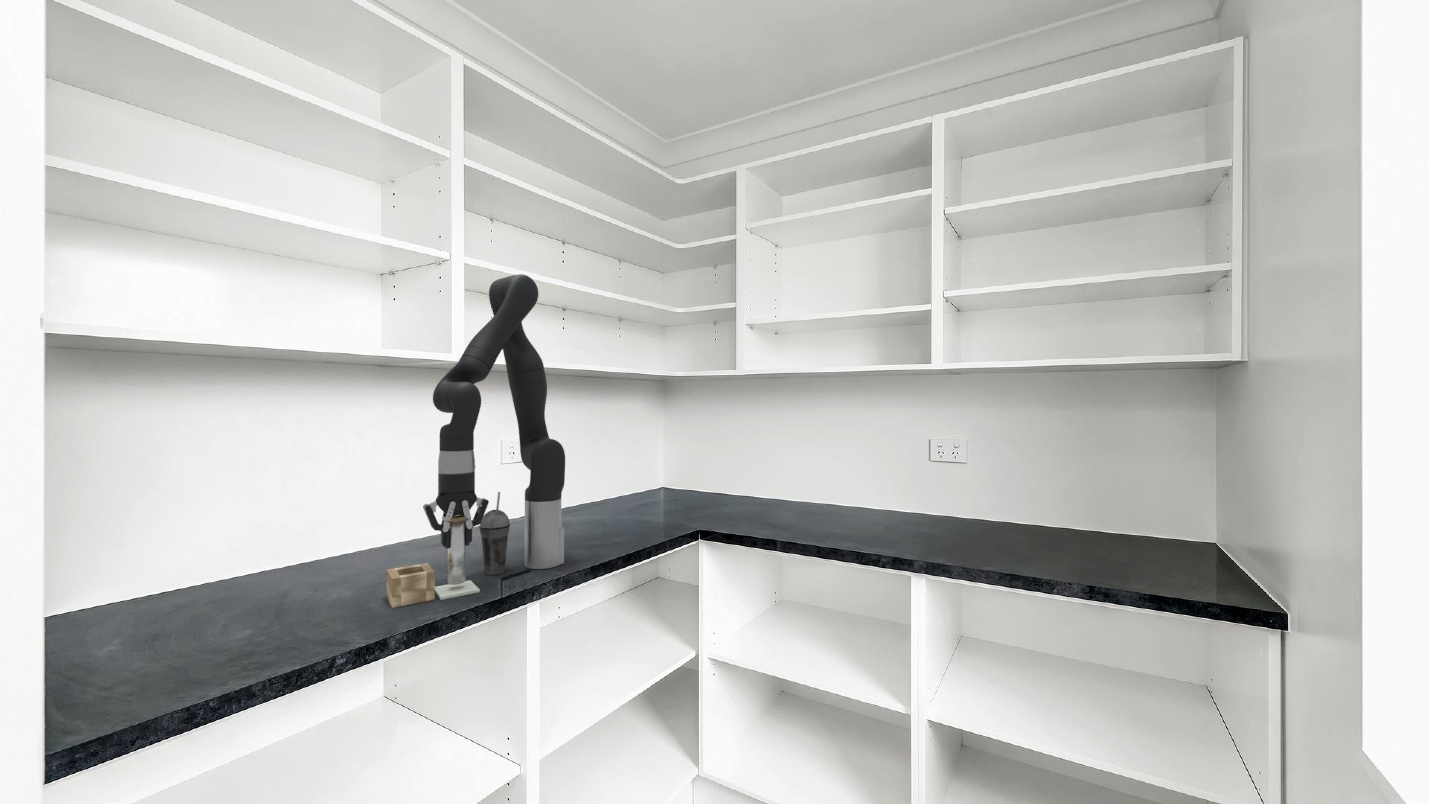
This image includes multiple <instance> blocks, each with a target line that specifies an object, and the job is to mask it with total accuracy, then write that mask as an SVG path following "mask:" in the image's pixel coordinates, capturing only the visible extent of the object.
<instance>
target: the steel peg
mask: <svg viewBox="0 0 1429 804" xmlns="http://www.w3.org/2000/svg"><path fill="white" fill-rule="evenodd" d="M467 520H468V519H467V516H464V515H456V516H452V518H450V521H449V522H448V523H450V525H449V530H448V531H449V532H450V547H449V548H447V584H449V585H458V584H462V583H464V582H465V581H466V546H465V521H467Z"/></svg>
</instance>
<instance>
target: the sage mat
mask: <svg viewBox="0 0 1429 804" xmlns="http://www.w3.org/2000/svg"><path fill="white" fill-rule="evenodd" d="M480 591H481V589H480V588H479V587H478V586H477V585H476V584H475V583H474V582H473V581H472V580H465V582H464V583H462V584H458V585H449V584H448V583H447V584H443V585H437V586H436V585H435V595H437V597H438V599H439V600H441V601H442V600H448V599H451V598H457V597H462V596H466V595H467V596H468V595H472V594H477V593H480Z"/></svg>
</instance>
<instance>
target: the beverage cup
mask: <svg viewBox="0 0 1429 804" xmlns="http://www.w3.org/2000/svg"><path fill="white" fill-rule="evenodd" d="M500 497H501V491H498V492H497V500H496V509H491V510H488V511H486V513H484V516H483V519H482V521H481V524H480V525H478V526H479V527H478V529H479V532H480V536H481V543H482V544H481V545H482V546H481V547H482V558H483V567H484V573H485V575H488V576H493V575H494V576H495V575H496V576H497V575H500V574H503V573H504V572H505V567H506V560H507V552H508V551H507V549H508V537H509V534H510V533H509V532H510V526H511V523H510V519H509V517H508V515H507V514H506V513H505V512H504V511H503V510H501V509H499V507H500Z"/></svg>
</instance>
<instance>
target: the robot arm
mask: <svg viewBox="0 0 1429 804" xmlns="http://www.w3.org/2000/svg"><path fill="white" fill-rule="evenodd" d="M488 299H489V303H490V307H491V311H492V315H493V317H492V318H491V319H490V320H489V321H488V322H487V323H486V324H485V325H484V326H483V327H482V328H481V329H480V330H479V331H478V332H477V333H476V334H475V335H474V336H473V338H472V339H471V340H469V343H468V344H467V346H466V348H465V350H464V351H463V353H462V355H461V357H460V359H459V360H458V362H456V364H455V365H454V366H453V367H451V369H449V371H448V372H447V373H446V374H445V375H444V376H443V377H442V378H441V379H440V380H439V382H438V383H437V384H436V386H435V388H434V390H433V393H432V403H433V405H434V406H435V409H437V411H440V412H442V413H444V414H445V413H447V414H452V416H451V419H450V422H449V423H447V424H444V425H442V426H441V427H440V429H439V430H440V431H439V452H438V461H437V466H438V467H437V468H438V469H437V475H438V476H437V497H436V498H435V500H434V501H433V502H430V503H425V504H423V506H422V508H423V510H424V513H425V515H426V517H427V520H428V522H429V525H430V526H431V528H432V529H433V530H434V531H437V532H438V531H439V532H440V544H441V546H442V547H444V549H447V550H448V548H449V547H450V532H449V531H448V530H449V525H450V523H448V522H449V521H450V518H452V516H456V515H464V516H467V519H468V520H467V521H465V547H466V546H470V543H472V542H473V528H475V527H476V526H480V524H481V521H482V519H483V516H484V515H485V514H486V513H485V512H487V511H486V510H487V508H488V505H489V502H490V501H489V500H488V499H487V498H483V497H482V498H481V497H478V496H477V494H476V489H475V488H476V482H475V481H476V459H475V458H476V457H475V450H474V448H475V446H474V445H475V443H474V441H475V437H474V435H475V434H474V432H475V429H476V425H477V421H478V419H479V415H480V411H481V407H482V406H481V405H482V395H481V392H480V390H479V388H478V387H477V386H476V385H475V384H477V383H480V382H482V381H484V380H485V379H486V378H487V377H488V376H489V374H490V372H491V370H492V368H493V367H494V364H495V363H496V361H497V359H498V357H499V355H500V354H501V352H503V356H504V363H505V367H506V375H507V380H508V384H509V389H510V394H511V398H512V402H513V403H512V404H513V408H514V411H515V415H516V416H515V417H516V422H517V425H518V426H517V427H518V436H519V437H518V439H519V448H520V449H519V450H520V453H519V454H520V458H521V461H522V463H523V465H524V466H525V467H526V468H527V469H528V470H529V471H530V473H529V474H530V475H529V476H530V477H529V485H528V486H527V487H526V488H525V490H524V558H523V559H524V567H525V568H527V569H532V570H544V569H545V570H546V569H551V568H552V569H553V568H555V567H558V566H560V565H563V564H565V528H564V526H562V492H563V490H564V486H565V482H566V481H565V480H566V479H565V478H566V476H565V475H566V453H565V452H566V451H565V449H564V446H563V444H561V443H560V442H559V441H558V440H556V439H553V438H550V436H549V432H548V428H547V427H548V426H547V423H546V416H545V415H546V414H545V413H546V404H547V396H548V381H547V378H546V370H545V366H544V362H543V360H542V359H543V358H542V357H541V356H540V354H539V352H538V351H537V349H536V348H535V347H534V345H533V344H532V342H531V340H529V338H528V337H527V335H526V332H525V330H524V326H523V320H525V318H526V317H527V316H528V315H529V313H530V312H531V311H532V310H533V309H534V307H535V305H536V304H537V302H538V300H539V288H538V286H537V283H536V282H535V280H533V278H532V277H530V276H529V275H526V274H521V273H520V274H514V275H508V276H506V277H502V278H498V279H496V280H494V281H493V282H492V283H491V285H490V286H489V289H488ZM475 504H476V505H475ZM474 505H475V506H476V507H477V508H476V511H475V513H474V516H473V519H472V514H471V513H470V512H471V511H470V510H471V509H472V508H473V506H474ZM437 506H438V508H439V509H440V510H441V511H442V512H443V513H442V515H441V516H442V517H441V522H440V523H439V522H438V520H437V517H436V515H435V513H436V512H437Z"/></svg>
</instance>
